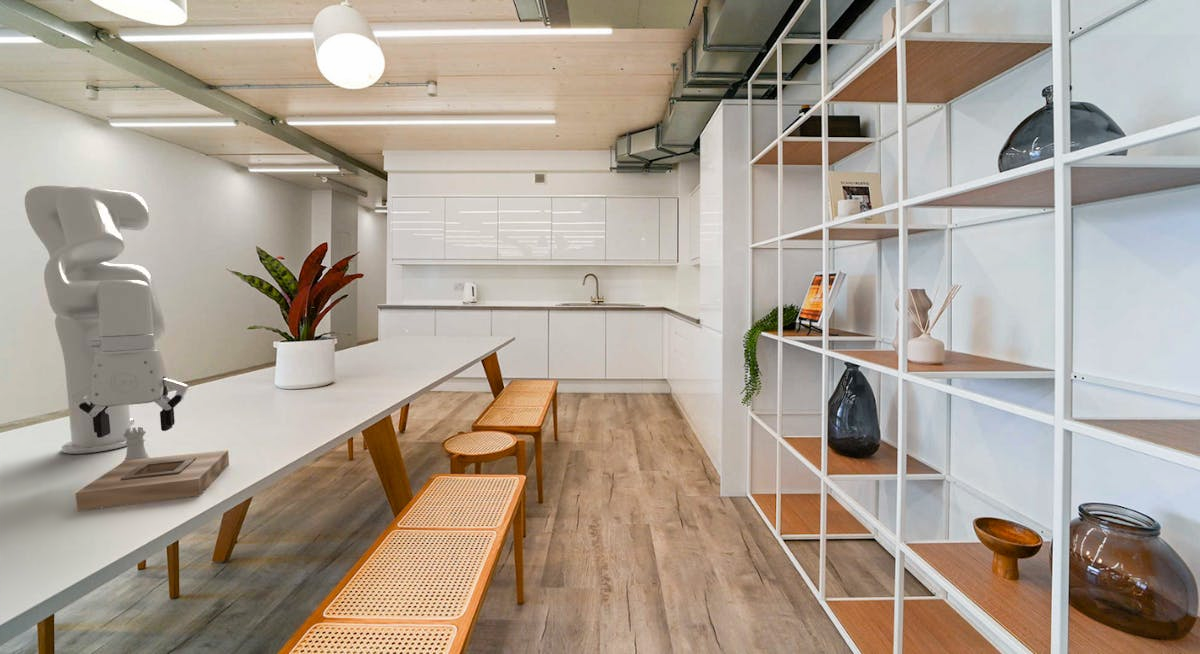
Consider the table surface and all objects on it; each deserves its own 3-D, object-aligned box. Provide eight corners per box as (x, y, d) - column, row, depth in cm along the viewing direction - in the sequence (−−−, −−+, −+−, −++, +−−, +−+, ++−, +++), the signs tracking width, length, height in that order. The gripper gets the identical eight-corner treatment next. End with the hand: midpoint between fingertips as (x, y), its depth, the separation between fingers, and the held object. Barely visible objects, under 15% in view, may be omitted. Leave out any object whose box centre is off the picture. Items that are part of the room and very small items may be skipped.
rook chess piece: (133, 473, 96) (130, 432, 95) (115, 472, 97) (112, 431, 96) (158, 465, 100) (155, 426, 100) (140, 464, 101) (137, 425, 101)
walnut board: (127, 475, 95) (125, 458, 95) (229, 464, 101) (228, 448, 101) (77, 511, 80) (75, 491, 80) (199, 495, 86) (198, 477, 86)
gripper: (56, 349, 90) (65, 443, 91) (176, 343, 96) (183, 431, 97) (80, 346, 97) (89, 433, 98) (191, 340, 103) (197, 422, 104)
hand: (136, 432), depth 97 cm, fingers open, 9 cm apart
